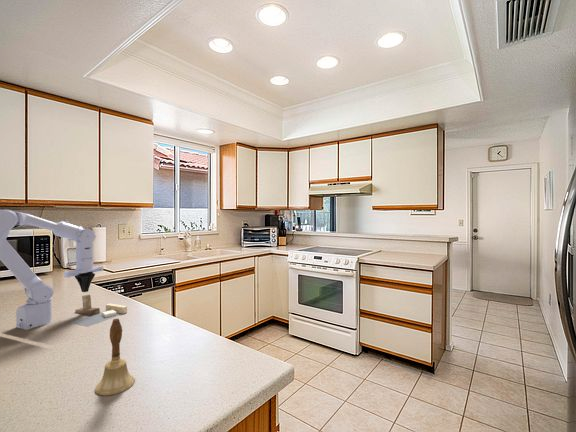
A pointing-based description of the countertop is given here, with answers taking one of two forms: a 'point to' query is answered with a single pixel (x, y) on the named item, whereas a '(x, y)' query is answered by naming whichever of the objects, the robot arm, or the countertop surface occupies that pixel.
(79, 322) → the board
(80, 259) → the robot arm
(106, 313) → the tile
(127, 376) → the hand bell
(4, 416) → the countertop surface
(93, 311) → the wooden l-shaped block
